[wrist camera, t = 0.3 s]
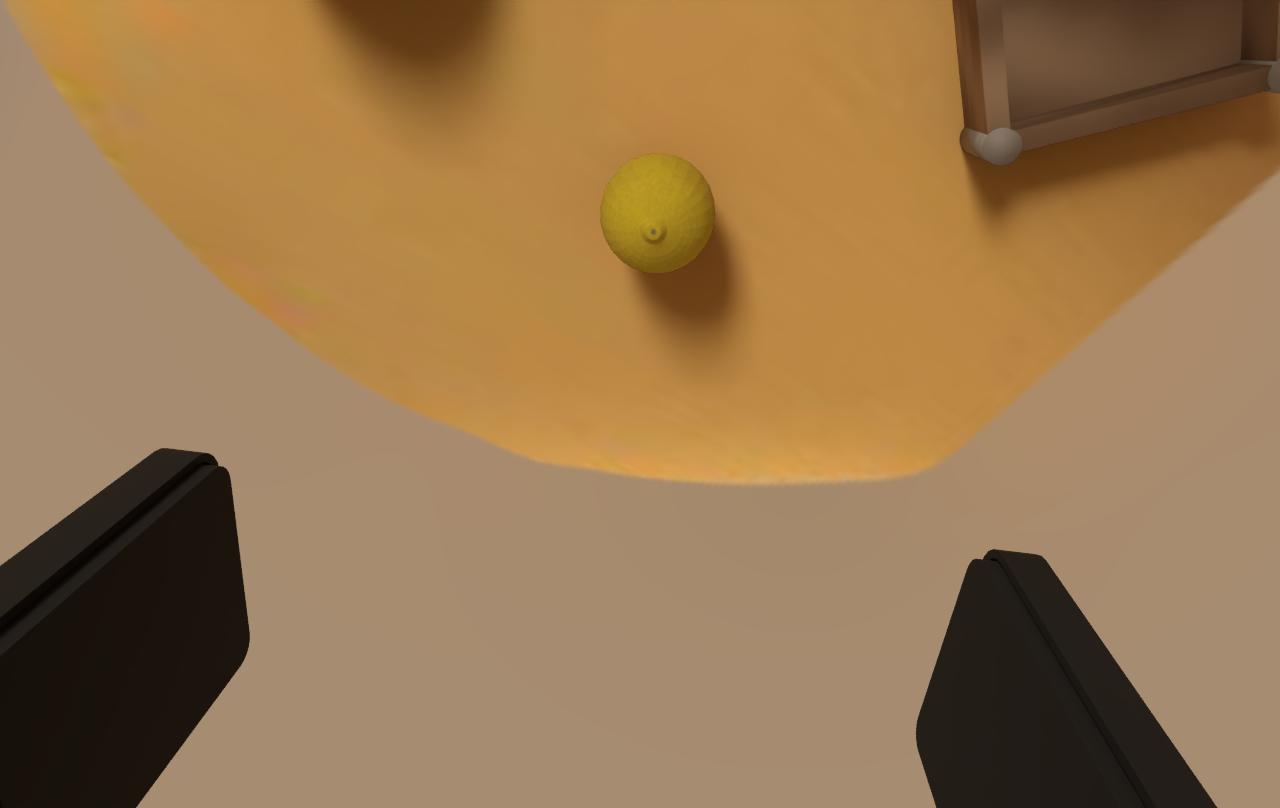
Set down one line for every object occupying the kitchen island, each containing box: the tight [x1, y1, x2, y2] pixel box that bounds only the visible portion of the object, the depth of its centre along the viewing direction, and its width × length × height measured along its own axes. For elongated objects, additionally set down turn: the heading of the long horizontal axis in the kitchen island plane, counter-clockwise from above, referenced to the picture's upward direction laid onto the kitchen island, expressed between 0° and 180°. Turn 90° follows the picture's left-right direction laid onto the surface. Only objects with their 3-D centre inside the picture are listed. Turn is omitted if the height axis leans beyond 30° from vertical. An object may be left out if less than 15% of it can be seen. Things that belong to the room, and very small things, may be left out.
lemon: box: [600, 153, 715, 274], centre depth 38 cm, size 6×6×8 cm
